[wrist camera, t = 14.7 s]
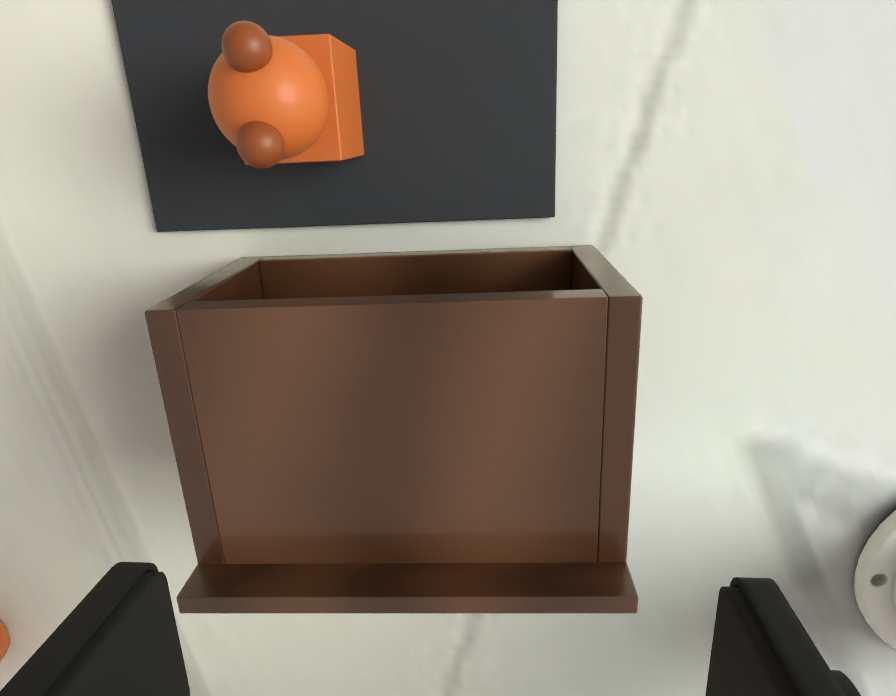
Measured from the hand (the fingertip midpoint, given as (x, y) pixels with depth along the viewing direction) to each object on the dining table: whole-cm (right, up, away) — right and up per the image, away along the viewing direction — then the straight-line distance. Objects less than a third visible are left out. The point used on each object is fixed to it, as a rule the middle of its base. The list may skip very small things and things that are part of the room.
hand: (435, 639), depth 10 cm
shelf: (-1, +4, +23) cm, 24 cm away
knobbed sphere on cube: (-6, +16, +19) cm, 25 cm away
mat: (-5, +16, +19) cm, 26 cm away
